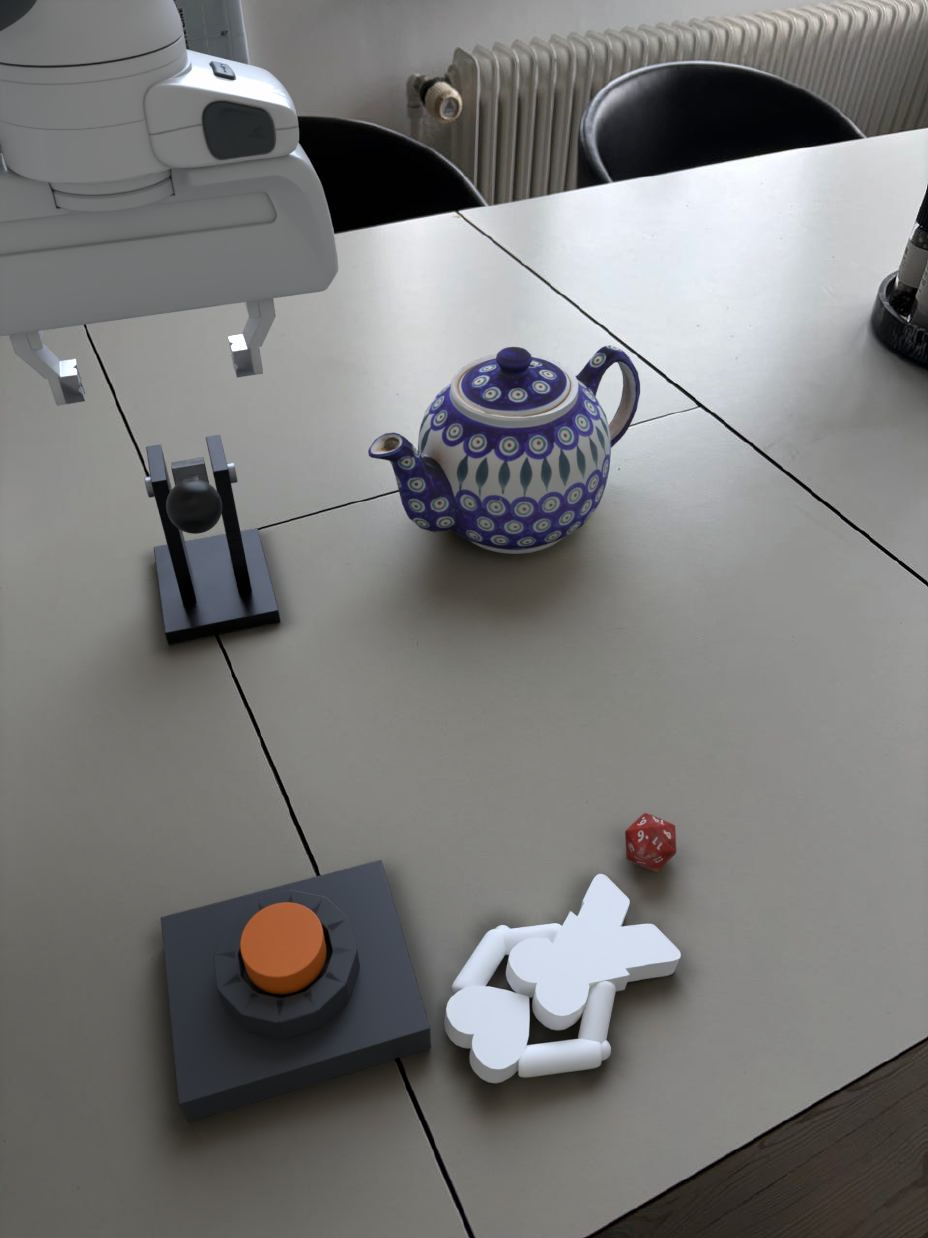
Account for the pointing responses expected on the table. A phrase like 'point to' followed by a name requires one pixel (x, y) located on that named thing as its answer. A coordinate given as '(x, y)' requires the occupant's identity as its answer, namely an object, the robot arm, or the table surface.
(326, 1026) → the control block
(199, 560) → the bracket
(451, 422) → the teapot
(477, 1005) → the white abstract figurine
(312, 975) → the button
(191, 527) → the lever
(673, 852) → the die
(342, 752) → the table surface
